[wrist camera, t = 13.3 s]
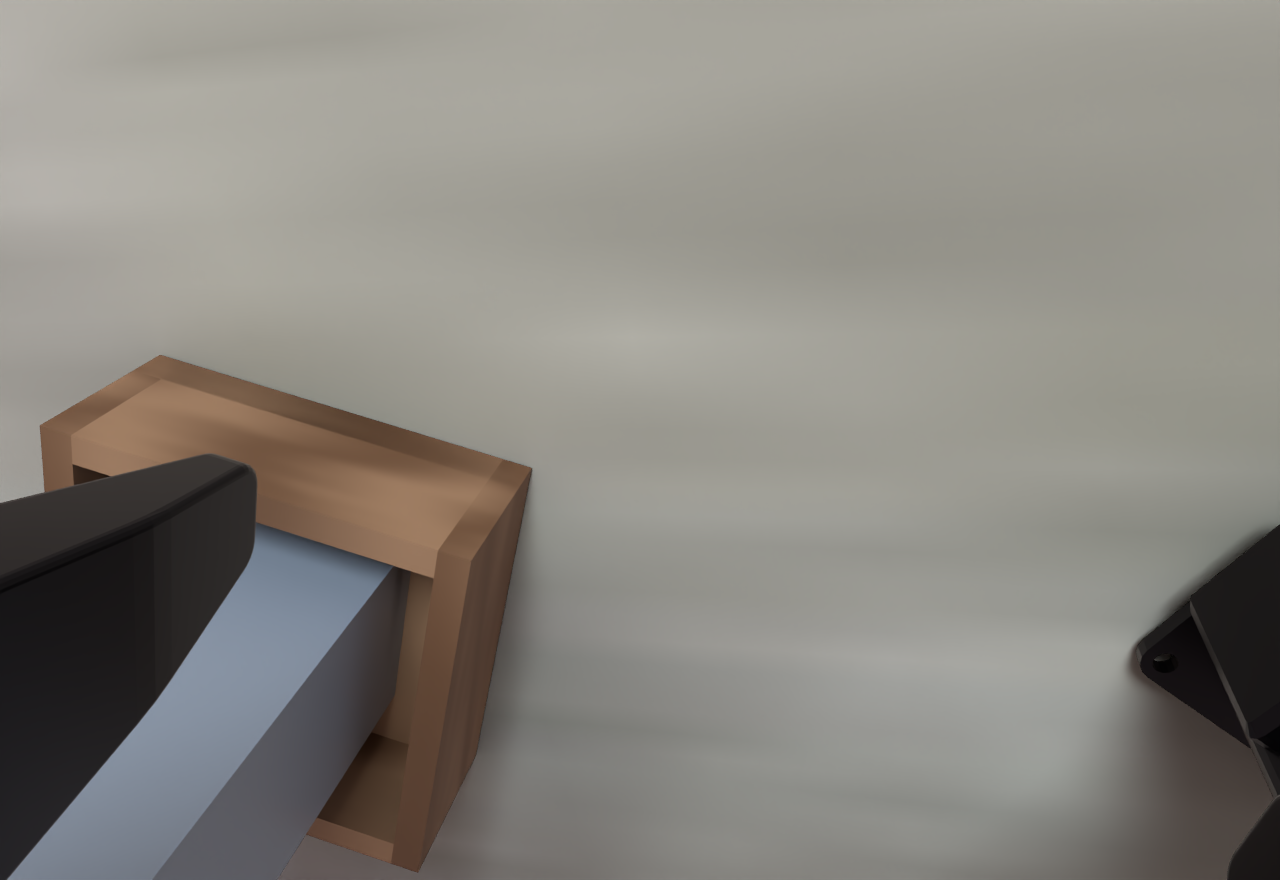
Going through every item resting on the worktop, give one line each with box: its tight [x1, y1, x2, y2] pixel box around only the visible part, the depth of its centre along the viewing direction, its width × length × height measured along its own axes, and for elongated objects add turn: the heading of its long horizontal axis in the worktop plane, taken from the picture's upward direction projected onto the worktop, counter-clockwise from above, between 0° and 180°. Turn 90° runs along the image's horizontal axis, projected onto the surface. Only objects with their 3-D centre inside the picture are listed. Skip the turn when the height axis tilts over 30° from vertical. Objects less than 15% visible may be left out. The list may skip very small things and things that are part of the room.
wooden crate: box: [40, 355, 532, 873], centre depth 25 cm, size 9×9×4 cm
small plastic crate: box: [7, 522, 411, 880], centre depth 20 cm, size 5×5×12 cm
